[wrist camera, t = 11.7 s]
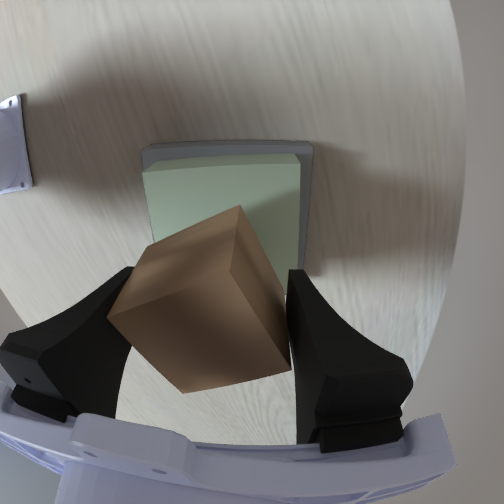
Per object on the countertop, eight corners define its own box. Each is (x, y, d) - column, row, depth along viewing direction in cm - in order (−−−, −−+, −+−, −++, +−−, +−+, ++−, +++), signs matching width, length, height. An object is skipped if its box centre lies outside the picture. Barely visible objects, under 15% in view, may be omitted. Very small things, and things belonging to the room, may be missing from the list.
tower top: (176, 273, 20) (168, 296, 18) (156, 161, 16) (141, 172, 14) (292, 271, 20) (295, 294, 18) (294, 153, 16) (300, 163, 14)
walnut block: (198, 318, 16) (183, 393, 12) (147, 246, 14) (106, 317, 9) (283, 289, 15) (291, 369, 10) (239, 204, 12) (229, 272, 8)
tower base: (170, 268, 23) (162, 287, 21) (154, 142, 18) (140, 150, 16) (296, 269, 23) (300, 289, 21) (306, 139, 18) (313, 146, 16)
